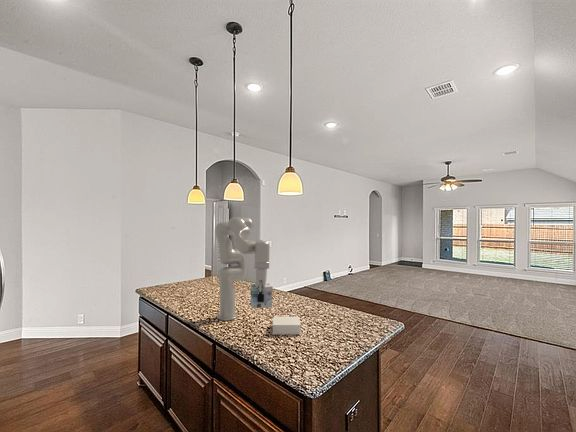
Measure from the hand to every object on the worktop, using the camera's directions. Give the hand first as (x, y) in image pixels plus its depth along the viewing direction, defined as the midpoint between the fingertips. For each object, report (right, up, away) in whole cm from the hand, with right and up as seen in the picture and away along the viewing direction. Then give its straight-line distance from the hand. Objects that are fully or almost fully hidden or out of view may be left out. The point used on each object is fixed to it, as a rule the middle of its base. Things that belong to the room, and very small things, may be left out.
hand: (261, 299), depth 144 cm
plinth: (+13, -21, +13) cm, 28 cm away
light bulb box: (0, -4, 0) cm, 4 cm away
